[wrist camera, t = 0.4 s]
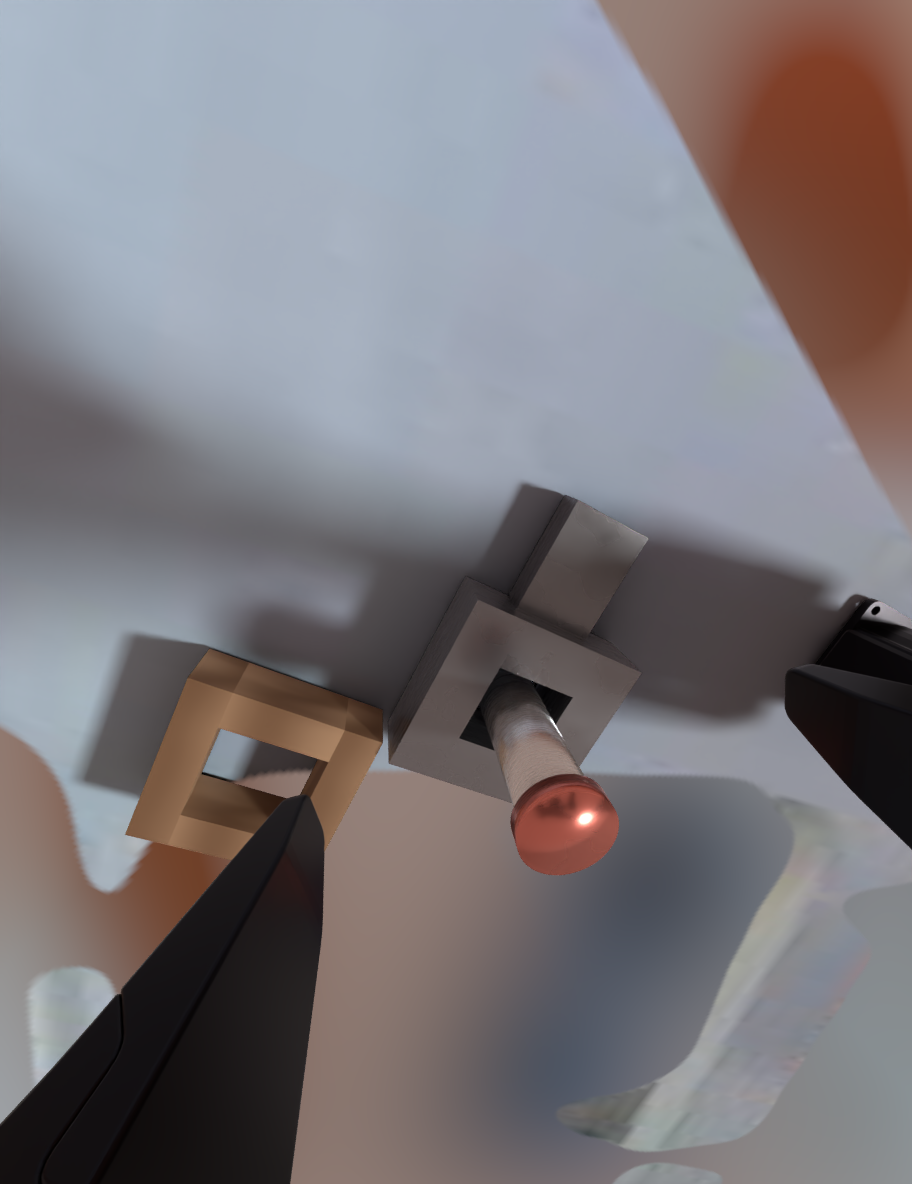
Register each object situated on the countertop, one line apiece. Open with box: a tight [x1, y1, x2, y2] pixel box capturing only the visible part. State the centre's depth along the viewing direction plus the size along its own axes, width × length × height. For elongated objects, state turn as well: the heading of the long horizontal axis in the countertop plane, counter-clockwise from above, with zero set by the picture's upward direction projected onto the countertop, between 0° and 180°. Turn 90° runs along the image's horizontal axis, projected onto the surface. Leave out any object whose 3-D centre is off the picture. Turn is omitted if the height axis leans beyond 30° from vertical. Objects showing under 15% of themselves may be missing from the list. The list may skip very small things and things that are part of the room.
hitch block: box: [388, 495, 649, 803], centre depth 21 cm, size 8×13×3 cm, turn 152°
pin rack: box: [125, 649, 383, 860], centre depth 22 cm, size 8×8×2 cm
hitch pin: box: [479, 668, 619, 875], centre depth 19 cm, size 3×3×9 cm
